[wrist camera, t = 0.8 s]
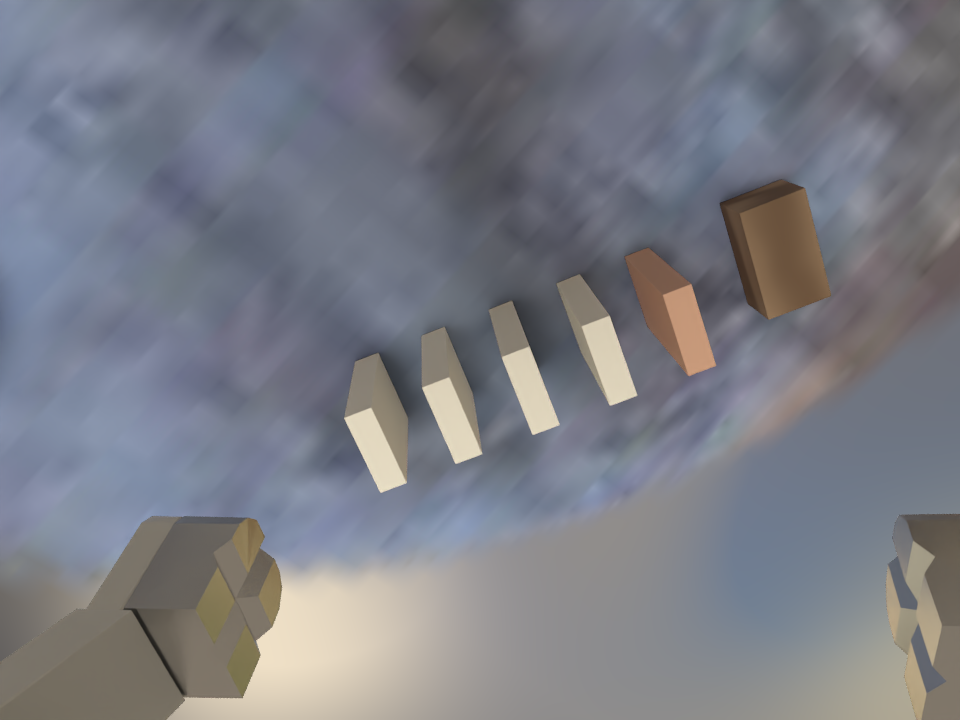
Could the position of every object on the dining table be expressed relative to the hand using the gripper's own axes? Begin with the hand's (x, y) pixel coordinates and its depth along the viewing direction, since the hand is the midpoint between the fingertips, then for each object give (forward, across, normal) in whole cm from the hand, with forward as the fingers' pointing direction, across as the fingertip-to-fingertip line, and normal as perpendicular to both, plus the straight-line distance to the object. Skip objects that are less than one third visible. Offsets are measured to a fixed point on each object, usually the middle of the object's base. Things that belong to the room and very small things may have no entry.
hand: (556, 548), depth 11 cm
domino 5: (+41, 0, +20) cm, 46 cm away
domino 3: (+38, +8, +22) cm, 45 cm away
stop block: (+43, -8, +19) cm, 48 cm away
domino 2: (+37, +12, +23) cm, 45 cm away
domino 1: (+35, +17, +24) cm, 46 cm away
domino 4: (+39, +4, +21) cm, 45 cm away
